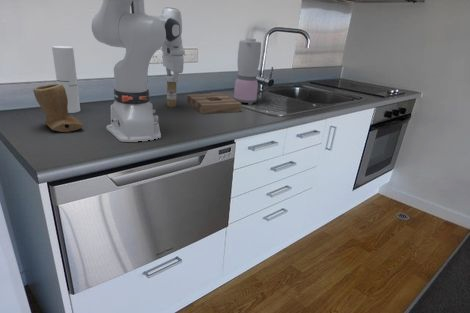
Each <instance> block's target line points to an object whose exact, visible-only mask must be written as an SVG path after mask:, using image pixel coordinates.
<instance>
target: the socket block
mask: <svg viewBox="0 0 470 313" xmlns="http://www.w3.org/2000/svg"><path fill="white" fill-rule="evenodd" d="M186 103H187V104H188V105H189V106H190V107H192V108H193V109H195V110H196V111H197V112H198V113H200V114H201V115H205V114H207V113H209V114H221V113H222V114H223V113H224V112H226V113H239V111H241V112H242V104H243V102H238V101H236V100H234V97H233V98H232V97H231V96H228V95H227V94H225V93H208V94H207V93H206V94H205V93H204V94H203V93H202V94H187V95H186ZM224 114H225V113H224Z"/></svg>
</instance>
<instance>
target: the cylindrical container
mask: <svg viewBox="0 0 470 313" xmlns="http://www.w3.org/2000/svg"><path fill="white" fill-rule="evenodd" d="M51 50H52V56H53V63H54V64H53V65H54V70H55V76H56V78H55V80H56V84H62V85H63V86H64V88H65V91H66V95H67V99H68V105H67V108H68V114H75V113H79V112H81V104H80V97H79V94H80V93H79V88H78V86H79V85H78V77H77V71H76V70H77V69H76V61H75V60H76V58H75V53H74V52H75V51H74V47H73V46H67V45H53V46H51Z"/></svg>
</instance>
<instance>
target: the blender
mask: <svg viewBox="0 0 470 313" xmlns="http://www.w3.org/2000/svg"><path fill="white" fill-rule="evenodd" d="M256 40H257V39H256V38H251V37H250V38H249V37H245V39H244V40H242V39H241V40H239V44H238V49H237V50H238V51H237V78H236V79H235V82H234V90H233V99H234V100H236V101H238V102H240V103H248V104H247V105H248V106H253V103H256V102H257V97H258V89H259V88H258V87H259V83H258V79H257V75H258V70H259V67H260V62H261V53H262V43H261V41H256Z"/></svg>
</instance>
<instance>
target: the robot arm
mask: <svg viewBox="0 0 470 313" xmlns="http://www.w3.org/2000/svg"><path fill="white" fill-rule="evenodd" d="M91 32H92V35H93V37H94V38H95V40H96V41H98V42H99V43H102V44H103V45H104V44H105V45H107V46H110V47H115V48H123V49H125V54H124V58H123V59H121V60H119V61H118V62H117V63H115V65H114V66H113V79H114V80H113V81H114V89H113V98H114V99H113V100H114V102H113V103H112V104H111V105H110V124H108V125H106V127H105V128H106V130H107V131H108V132H109V133H110V134H111V135H113V137H114V138H116V139H117V140H118V141H119V142H123V143H139V142H138V141H142V142H149V141H148V140H150V141H154V139H156V140H159V139H161V138H162V134H161V130H160V129H161V128H160V124H159V115H155V114H156V109H153V103H152V102H150V101H151V99H150V97H151V96H150V91H149V88H148V86H149V85H148V76H149V74H148V73H149V67H150V66H149V65H150V63H151V60H152V58H153V56H154V54H155V53H156V52H157V51H159V50H160V49H161V52H162V66H163V67H165V70H166V71H165V72H166V78H167V77H169V76H172V74H173V76H172V77H173V81H174V82H177V83H178V80H179V75H180V74H182V73H183V72H184V62H185V61H184V60H185V57H184V55H186V51H185V48H184V46H183V39H182V33H183V20H182V14H181V11H180V10H179V9H177V8H174V7H163V8H162V12H161V15H148V13H146V12H145V0H103V1H102V4H101V6H100V9H99V10H98V12H97V13H96V14H95V15H94V16H93V18H92V20H91ZM158 138H159V139H158Z"/></svg>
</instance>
